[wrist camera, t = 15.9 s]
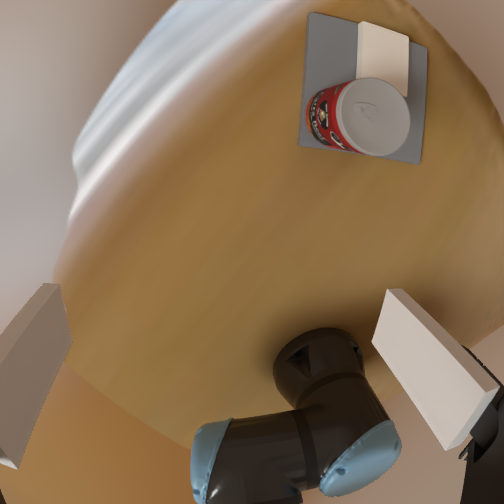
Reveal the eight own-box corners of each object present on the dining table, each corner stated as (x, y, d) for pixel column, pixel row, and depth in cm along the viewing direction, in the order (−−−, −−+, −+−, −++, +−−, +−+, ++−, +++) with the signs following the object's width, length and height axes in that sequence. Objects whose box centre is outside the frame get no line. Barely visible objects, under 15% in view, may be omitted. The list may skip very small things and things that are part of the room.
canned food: (302, 86, 34) (337, 71, 24) (362, 91, 35) (411, 83, 25) (303, 147, 37) (338, 155, 27) (362, 149, 38) (410, 158, 28)
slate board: (414, 163, 40) (419, 165, 39) (297, 145, 38) (300, 146, 37) (422, 49, 34) (427, 48, 33) (307, 14, 31) (310, 11, 30)
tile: (407, 96, 34) (408, 36, 31) (360, 84, 33) (363, 21, 30) (400, 97, 36) (402, 39, 32) (354, 85, 34) (357, 24, 31)
